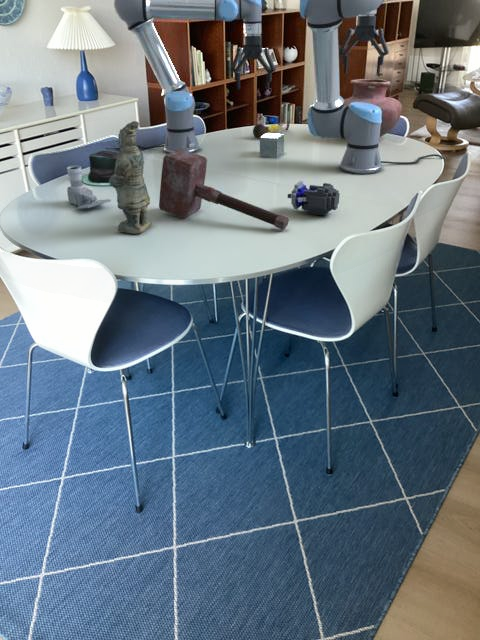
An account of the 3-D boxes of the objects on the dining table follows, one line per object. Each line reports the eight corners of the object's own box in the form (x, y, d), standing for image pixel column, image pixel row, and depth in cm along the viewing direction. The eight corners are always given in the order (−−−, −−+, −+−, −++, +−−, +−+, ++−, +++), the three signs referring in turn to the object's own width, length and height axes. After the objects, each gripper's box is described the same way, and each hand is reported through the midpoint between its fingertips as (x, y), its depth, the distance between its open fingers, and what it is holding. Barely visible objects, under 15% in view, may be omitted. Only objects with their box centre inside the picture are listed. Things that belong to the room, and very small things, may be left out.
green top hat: (70, 181, 201) (92, 168, 218) (116, 207, 203) (134, 192, 220) (83, 145, 193) (105, 134, 211) (131, 172, 195) (148, 159, 212)
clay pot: (396, 132, 265) (403, 75, 252) (401, 147, 239) (409, 84, 227) (332, 131, 270) (336, 75, 257) (330, 145, 244) (333, 84, 232)
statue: (131, 220, 168) (117, 116, 152) (158, 224, 164) (147, 118, 149) (109, 233, 159) (93, 124, 144) (138, 237, 156) (124, 126, 140)
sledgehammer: (299, 190, 156) (179, 147, 167) (285, 200, 148) (161, 154, 160) (286, 244, 166) (174, 200, 177) (272, 256, 158) (156, 209, 170)
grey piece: (79, 162, 182) (107, 171, 173) (85, 197, 188) (112, 207, 179) (56, 168, 176) (83, 177, 167) (62, 204, 182) (89, 214, 173)
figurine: (296, 120, 270) (269, 123, 251) (294, 136, 273) (268, 140, 254) (273, 118, 276) (245, 120, 257) (271, 134, 279) (244, 137, 260)
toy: (295, 178, 172) (342, 184, 166) (295, 205, 177) (340, 211, 171) (285, 186, 166) (333, 192, 160) (284, 213, 170) (331, 220, 164)
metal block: (267, 152, 238) (267, 132, 234) (283, 153, 235) (284, 134, 231) (259, 156, 231) (259, 137, 227) (276, 158, 228) (277, 138, 224)
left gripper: (221, 35, 234) (223, 89, 245) (278, 35, 226) (277, 91, 237) (228, 34, 240) (229, 87, 251) (283, 34, 232) (282, 88, 243)
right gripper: (333, 15, 221) (329, 73, 232) (396, 15, 212) (390, 75, 223) (338, 15, 227) (334, 71, 238) (400, 14, 218) (393, 73, 229)
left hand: (252, 89), depth 244 cm, fingers open, 13 cm apart
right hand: (361, 73), depth 231 cm, fingers open, 13 cm apart
